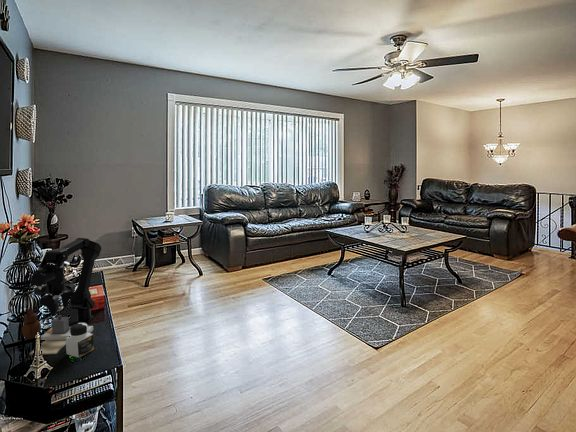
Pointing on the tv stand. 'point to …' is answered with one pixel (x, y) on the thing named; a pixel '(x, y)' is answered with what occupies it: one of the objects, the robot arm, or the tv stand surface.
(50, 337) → the power strip
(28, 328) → the wooden figurine
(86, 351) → the medicine bottle
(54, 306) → the robot arm
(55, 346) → the pad
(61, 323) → the charger
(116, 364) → the tv stand surface
